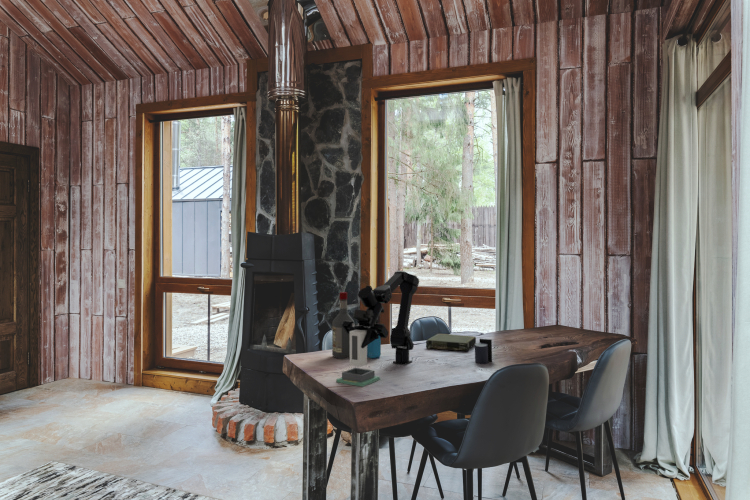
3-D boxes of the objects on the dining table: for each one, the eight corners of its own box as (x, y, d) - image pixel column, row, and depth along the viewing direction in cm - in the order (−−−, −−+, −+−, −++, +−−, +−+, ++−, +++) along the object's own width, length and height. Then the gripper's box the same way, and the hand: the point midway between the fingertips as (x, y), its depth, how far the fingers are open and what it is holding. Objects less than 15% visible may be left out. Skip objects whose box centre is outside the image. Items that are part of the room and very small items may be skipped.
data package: (357, 354, 234) (357, 329, 234) (364, 353, 237) (364, 328, 237) (373, 359, 225) (373, 332, 225) (380, 357, 227) (380, 331, 227)
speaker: (481, 359, 223) (481, 337, 222) (492, 361, 219) (492, 339, 218) (472, 363, 217) (471, 340, 216) (483, 366, 213) (483, 343, 212)
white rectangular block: (356, 362, 191) (356, 329, 191) (367, 364, 188) (366, 330, 188) (349, 365, 187) (349, 331, 187) (359, 367, 184) (359, 332, 184)
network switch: (424, 350, 245) (424, 340, 245) (433, 342, 268) (433, 332, 268) (471, 353, 238) (471, 343, 238) (476, 344, 261) (476, 335, 261)
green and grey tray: (354, 375, 196) (354, 366, 196) (379, 379, 189) (379, 370, 189) (336, 382, 186) (336, 372, 186) (362, 386, 179) (362, 377, 179)
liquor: (348, 353, 235) (348, 291, 235) (356, 357, 227) (356, 293, 227) (330, 355, 232) (330, 292, 232) (337, 359, 223) (337, 293, 223)
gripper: (344, 300, 196) (327, 332, 187) (384, 303, 186) (368, 336, 177) (355, 317, 203) (339, 349, 193) (394, 321, 193) (380, 354, 183)
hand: (356, 346), depth 186 cm, fingers closed on white rectangular block, 5 cm apart
